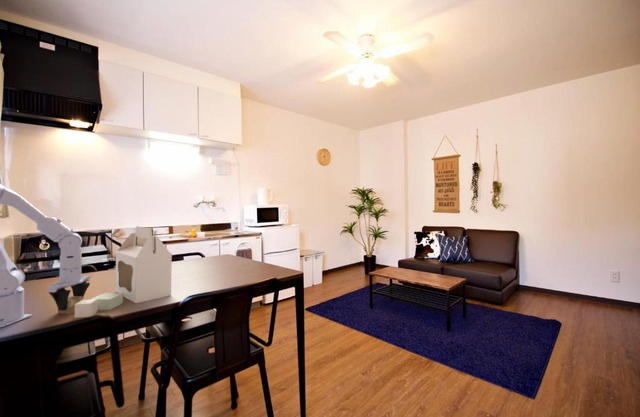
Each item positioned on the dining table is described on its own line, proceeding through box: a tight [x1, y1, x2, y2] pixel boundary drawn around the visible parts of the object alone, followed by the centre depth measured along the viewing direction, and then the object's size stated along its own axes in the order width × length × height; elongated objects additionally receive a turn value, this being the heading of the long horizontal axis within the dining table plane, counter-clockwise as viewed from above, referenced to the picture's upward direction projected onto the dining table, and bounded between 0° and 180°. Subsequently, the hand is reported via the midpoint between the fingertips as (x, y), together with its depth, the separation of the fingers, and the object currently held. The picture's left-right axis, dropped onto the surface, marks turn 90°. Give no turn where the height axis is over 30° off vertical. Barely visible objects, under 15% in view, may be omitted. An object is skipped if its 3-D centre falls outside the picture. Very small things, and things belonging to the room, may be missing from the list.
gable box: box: [115, 225, 173, 304], centre depth 119 cm, size 22×13×28 cm, turn 52°
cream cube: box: [74, 298, 98, 319], centre depth 96 cm, size 4×4×4 cm
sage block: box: [90, 292, 124, 311], centre depth 104 cm, size 7×7×4 cm
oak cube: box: [57, 295, 82, 314], centre depth 99 cm, size 4×4×4 cm
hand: (70, 306), depth 99 cm, fingers open, 6 cm apart
